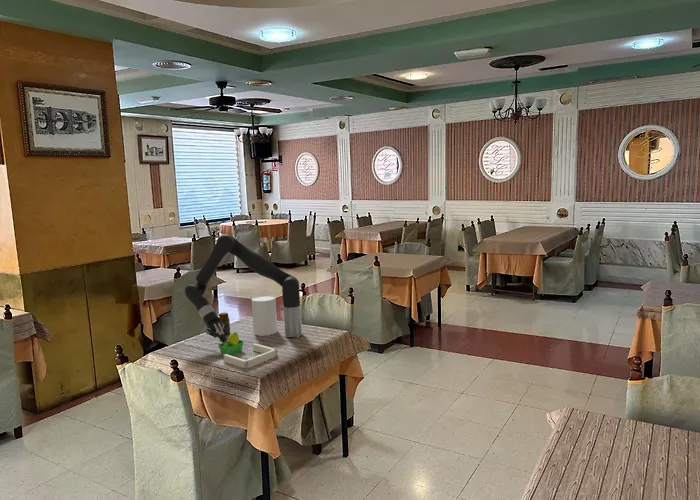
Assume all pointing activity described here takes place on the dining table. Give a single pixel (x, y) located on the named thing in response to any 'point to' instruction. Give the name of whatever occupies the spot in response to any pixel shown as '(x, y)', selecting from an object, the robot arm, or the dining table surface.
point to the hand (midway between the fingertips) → (224, 341)
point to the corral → (245, 364)
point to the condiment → (225, 319)
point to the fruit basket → (231, 345)
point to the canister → (264, 315)
